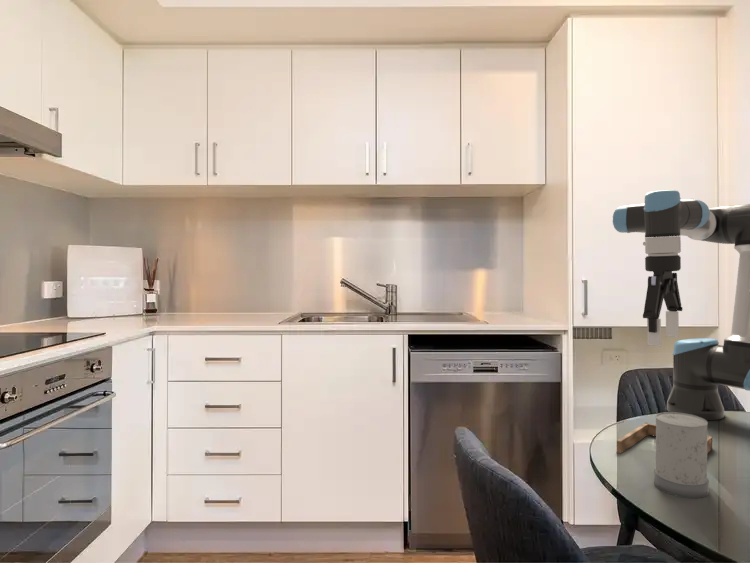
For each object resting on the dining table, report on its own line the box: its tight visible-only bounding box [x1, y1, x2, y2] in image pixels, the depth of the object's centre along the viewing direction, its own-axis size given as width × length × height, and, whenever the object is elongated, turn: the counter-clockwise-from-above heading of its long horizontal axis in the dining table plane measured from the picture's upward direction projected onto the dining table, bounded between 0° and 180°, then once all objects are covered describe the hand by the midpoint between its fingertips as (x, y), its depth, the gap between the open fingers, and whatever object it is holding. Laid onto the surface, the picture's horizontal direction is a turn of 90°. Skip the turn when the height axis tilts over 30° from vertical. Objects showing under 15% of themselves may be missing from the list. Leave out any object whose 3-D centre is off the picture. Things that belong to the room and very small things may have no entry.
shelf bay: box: [616, 422, 713, 454], centre depth 128 cm, size 19×16×3 cm
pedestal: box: [653, 468, 710, 499], centre depth 108 cm, size 10×10×2 cm
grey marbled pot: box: [654, 411, 709, 485], centre depth 108 cm, size 10×10×12 cm
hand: (663, 341), depth 124 cm, fingers open, 13 cm apart
